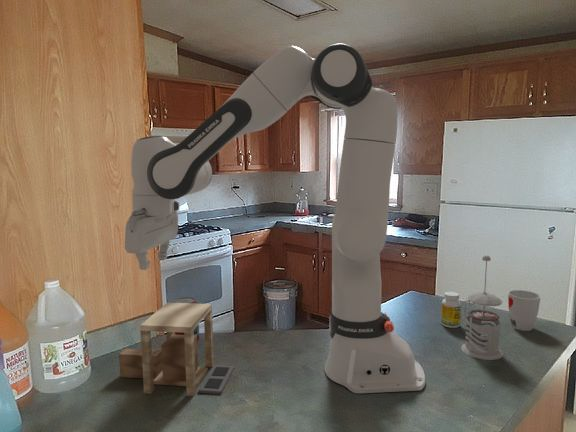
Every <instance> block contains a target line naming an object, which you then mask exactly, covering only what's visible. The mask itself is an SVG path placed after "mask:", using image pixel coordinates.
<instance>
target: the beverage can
mask: <svg viewBox="0 0 576 432" xmlns="http://www.w3.org/2000/svg"><path fill="white" fill-rule="evenodd" d="M174 303H197V301H196V298H194V297H192V296H191V297H190V296H184V297H179V298H177V299H175V300H174ZM197 304H198V303H197ZM175 335H184V333H183V332H175ZM194 335H196V336H197V343H198V342H199V341H200V323H199V324H198V326H197V327H196V328H195V329H194Z"/></svg>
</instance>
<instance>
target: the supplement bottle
mask: <svg viewBox="0 0 576 432" xmlns="http://www.w3.org/2000/svg"><path fill="white" fill-rule="evenodd" d="M443 296H444V299H442V301H441V314H440V315H441V317H440V318H441V320H440V323H441V325H442V326H443V327H446V328H451V329H455V328H456V329H457V328H459V327H460V326H461V321H462V320H461V317H462V315H461V316H460V307H461V305H462V302H461V301H460V293H458V292H455V291H446V292H444V295H443ZM461 308H462V307H461Z"/></svg>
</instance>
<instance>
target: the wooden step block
mask: <svg viewBox="0 0 576 432" xmlns="http://www.w3.org/2000/svg"><path fill="white" fill-rule="evenodd" d="M160 346H161V347H160V348H161V349H160V350H156V349H152V364H153V382H154V385H163V386H177V387H178V386H182V387H187V385H186V363H185V341H184V335H173V334H172V335H171V336H170V337H169V338H168V339H167V338H166V340H165V342H163V343H162V344H161V345H160ZM194 350H195V374H196V388H197V387H199V385H200V383H201V381H202V380H203V379H204V377H205V375H206V373H208V367H206V366H205V367H203V366H199V354H198V353H199V352H198V342H197V336H196V335H194ZM118 363H119V364H118V365H119V377H120V378H133V379H143V366H142V349H140V348H139V349H138V348H124V349H123V350H121V352H120V353H118Z"/></svg>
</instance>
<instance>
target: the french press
mask: <svg viewBox="0 0 576 432" xmlns="http://www.w3.org/2000/svg"><path fill="white" fill-rule="evenodd" d="M491 259H492V258H491V256H489V255H484V256H483V257H482V259H481V260H482V261H484V262H485V275H484V276H485V277H484V289H483V290H484V292H483V291H480V292H479V291H478V292H473V293H470V294H469V295H467V297H466V298H467V299H466V300H464V301H463V302H461V307H460V316H461V320H460V321H461V322H462V323H463V324H464V326H465V343H463V344H462V345H461V347H460V349H461V350H462V352H463V353H464V354H466V355H467V356H469V357H472V358H474V359H475V358H476V359H479V360H487V361H493V360H499V359H501V358H502V357H503V355H504V353H503V352H502V351H501V349H500V347H499V346H500V331H501V321H500V320H499V319H500V316H499V315H498V314H497V313H496V312H492V311H489V310H485V307H499V306H501V305H502V304H503V300H502V299H501V298H500V297H498V296H497V295H495V294H492V293H490V292H486V287H487V286H486V285H487V269H488V267H487V266H488V262H491ZM465 302H466V303H465ZM464 303H465V304H464ZM471 303H472V304H471ZM463 305H464V316H465V319H466V323H465V322H464V320H463V318H462V307H463ZM467 305H469V307H470V306H474V305H479V306H483V309H471V310H469V311H468V313H467V312H466V311H467ZM467 314H468V316H467ZM491 322H493V323H491ZM485 335H487V336H485Z"/></svg>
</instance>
